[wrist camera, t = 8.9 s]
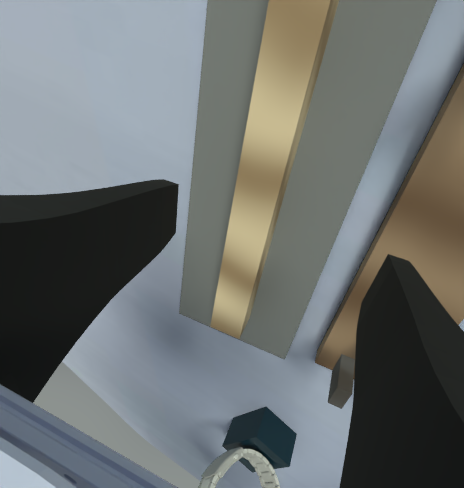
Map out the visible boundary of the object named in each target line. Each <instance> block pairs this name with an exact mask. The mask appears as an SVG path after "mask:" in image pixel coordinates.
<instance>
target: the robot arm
mask: <svg viewBox="0 0 464 488" xmlns="http://www.w3.org/2000/svg"><path fill="white" fill-rule="evenodd" d="M178 185H179V184H176V183H173V182H170V181H167V180H150V181H144V182H137V183H132V184H126V185H120V186H114V187H108V188H102V189H95V190H88V191H81V192H72V193H62V194H47V195H0V488H178V487H176V486H174V485H172V484H171V483H169V482H167V481H165V480H164V479H162V478H160V477H158V476H157V475H155V474H154V473H152V472H150V471H148V470H147V469H145V468H143V467H142V466H140V465H138V464H136V463H135V462H133V461H131V460H130V459H128V458H126V457H124V456H122V455H121V454H119V453H117V452H116V451H114V450H112V449H111V448H109V447H107V446H105V445H104V444H102V443H100V442H99V441H97V440H95V439H93V438H92V437H90V436H88V435H86V434H85V433H83V432H81V431H80V430H78V429H76V428H74V427H73V426H71V425H69V424H67V423H66V422H64V421H63V420H60V419H59V418H57V417H56V416H54V415H52V414H50V413H49V412H47V411H45V410H44V409H42V408H40V407H38V406H36V405H35V404H33V402H34V400H35V399H36V397H37V396H38V395H39V393H40V392H41V390H42V388H43V387H44V386H45V384H46V383H47V381H48V380H49V378H50V377H51V376H52V374H53V373H54V371H55V370H56V368H57V367H58V366H59V364H60V363H61V362H62V360H63V359H64V358H65V356H66V355H67V354H68V352H69V351H70V350H71V348H72V347H73V346H74V344H75V343H76V342H77V340H78V339H79V338H80V337H81V335H82V334H83V333H84V332H85V330H86V329H87V328H88V326H89V325H90V324H91V323H92V321H93V320H94V319H95V318H96V317H97V316H98V314H99V313H100V312H101V311H102V310H103V308H104V307H105V306H106V305H107V304H108V303H109V301H110V300H111V299H112V298H113V297H114V296H115V295H116V294H117V293H118V292H119V291H120V290H121V289H122V288H123V287H124V286H125V285H126V284H127V283H128V282H130V281H131V280H132V279H133V278H134V277H135V276H136V275H137V274H138V273H139V272H140V271H141V270H142V269H143V268H145V267H146V266H147V265H148V264H149V263H150V262H151V261H152V260H153V259H154V258H155V257H156V256H157V255H158V254H159V253H160V252H161V251H162V250H163V249H164V247H165V246H166V245H167V244H168V242H169V241H170V240H171V238H172V237H173V236H174V234H175V233H176V218H177V202H178ZM340 488H464V332H463V330H462V329H461V328H460V327H459V326H458V324H457V323H456V322H455V321H454V320H453V318H452V317H451V316H450V315H449V313H448V312H447V311H446V310H445V308H444V307H443V306H442V304H441V303H440V302H439V300H438V299H437V298H436V296H435V295H434V294H433V292H432V291H431V289H430V288H429V287H428V285H427V284H426V282H425V281H424V280H423V278H422V277H421V275H420V274H419V273H418V271H417V270H416V269H415V267H414V266H413V265H412V264H411V262H410V261H408V260H405V259H402V258H399V257H396V256H393V255H390V254H388V255H387V257H386V258H385V260H384V262H383V264H382V266H381V268H380V269H379V271H378V273H377V275H376V277H375V279H374V280H373V282H372V284H371V286H370V288H369V289H368V291H367V293H366V295H365V297H364V299H363V300H362V303H361V308H360V313H359V318H358V323H357V330H356V352H355V379H354V399H353V410H352V416H351V423H350V429H349V436H348V442H347V448H346V454H345V460H344V466H343V472H342V477H341V483H340Z"/></svg>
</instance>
